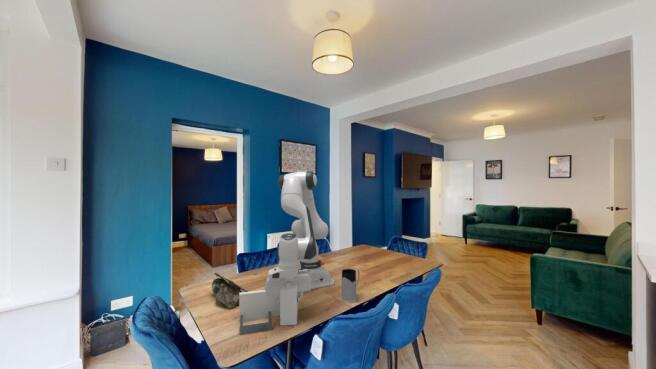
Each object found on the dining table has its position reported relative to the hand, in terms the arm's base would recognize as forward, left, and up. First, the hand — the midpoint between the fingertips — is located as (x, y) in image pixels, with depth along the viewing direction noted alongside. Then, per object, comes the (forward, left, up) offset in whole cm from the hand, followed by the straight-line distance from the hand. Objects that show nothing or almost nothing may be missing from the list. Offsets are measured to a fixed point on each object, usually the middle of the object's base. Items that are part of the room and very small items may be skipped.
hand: (288, 302), depth 117 cm
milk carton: (0, 0, -9) cm, 9 cm away
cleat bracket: (+14, -1, -8) cm, 16 cm away
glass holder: (-36, -15, -9) cm, 40 cm away
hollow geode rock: (+27, -33, -9) cm, 43 cm away
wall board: (+8, -7, -8) cm, 13 cm away
